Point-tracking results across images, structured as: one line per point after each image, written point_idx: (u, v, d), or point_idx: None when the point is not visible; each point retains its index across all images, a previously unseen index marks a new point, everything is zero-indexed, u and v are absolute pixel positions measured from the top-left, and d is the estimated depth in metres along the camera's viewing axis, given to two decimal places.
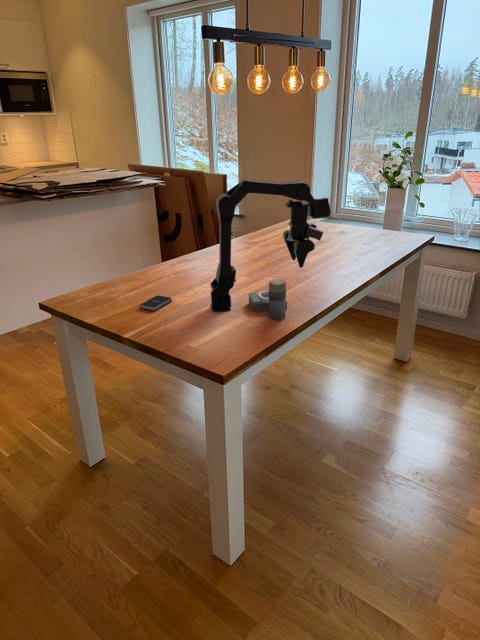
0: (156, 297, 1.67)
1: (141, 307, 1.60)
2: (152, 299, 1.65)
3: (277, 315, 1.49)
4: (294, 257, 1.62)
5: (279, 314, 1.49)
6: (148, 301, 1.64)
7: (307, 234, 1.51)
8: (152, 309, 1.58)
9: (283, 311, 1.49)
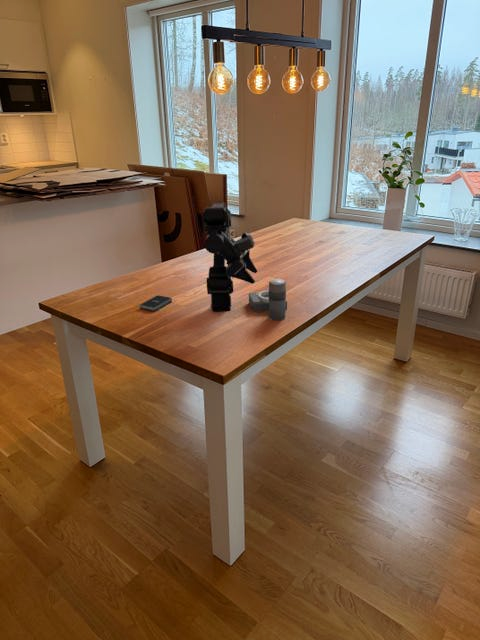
0: (156, 297, 1.67)
1: (141, 307, 1.60)
2: (152, 299, 1.65)
3: (277, 315, 1.49)
4: (254, 270, 1.52)
5: (279, 314, 1.49)
6: (148, 301, 1.63)
7: (236, 252, 1.42)
8: (152, 309, 1.58)
9: (283, 311, 1.49)
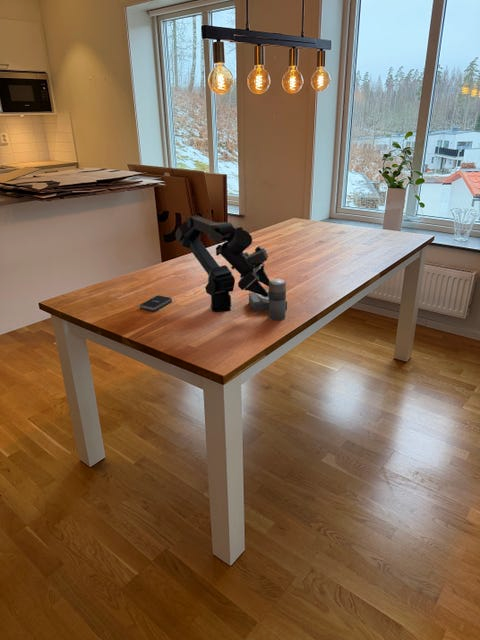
0: (156, 297, 1.67)
1: (141, 307, 1.60)
2: (152, 299, 1.65)
3: (277, 315, 1.49)
4: None
5: (279, 314, 1.49)
6: (148, 301, 1.64)
7: (249, 265, 1.43)
8: (152, 309, 1.58)
9: (283, 311, 1.49)
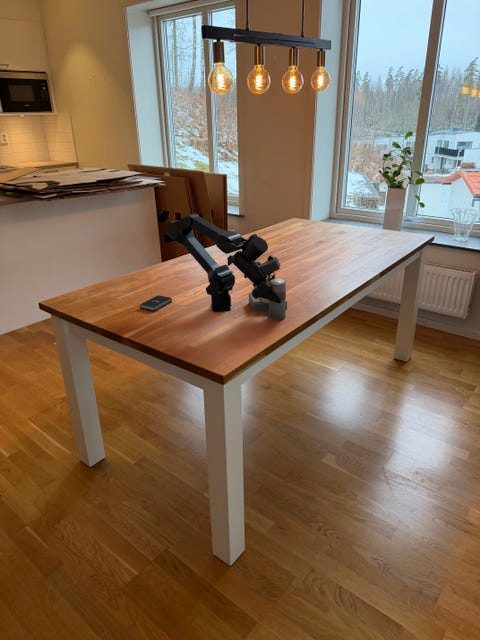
0: (156, 297, 1.67)
1: (141, 307, 1.60)
2: (152, 299, 1.65)
3: (277, 315, 1.49)
4: None
5: (279, 314, 1.49)
6: (148, 301, 1.63)
7: (262, 274, 1.44)
8: (152, 309, 1.58)
9: (283, 311, 1.49)
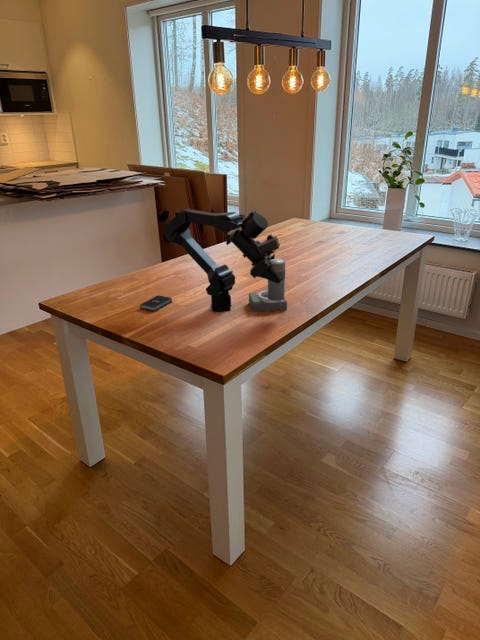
0: (156, 297, 1.67)
1: (141, 307, 1.60)
2: (152, 299, 1.65)
3: (276, 295, 1.47)
4: None
5: (278, 294, 1.47)
6: (148, 301, 1.63)
7: (261, 253, 1.42)
8: (152, 309, 1.58)
9: (282, 291, 1.47)
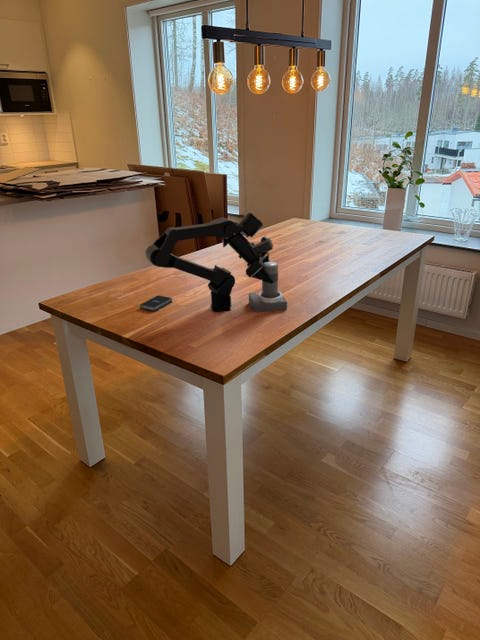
0: (157, 297, 1.67)
1: (141, 307, 1.60)
2: (152, 299, 1.65)
3: (270, 296, 1.56)
4: None
5: (272, 295, 1.56)
6: (148, 301, 1.63)
7: (255, 254, 1.51)
8: (152, 309, 1.58)
9: (276, 292, 1.57)
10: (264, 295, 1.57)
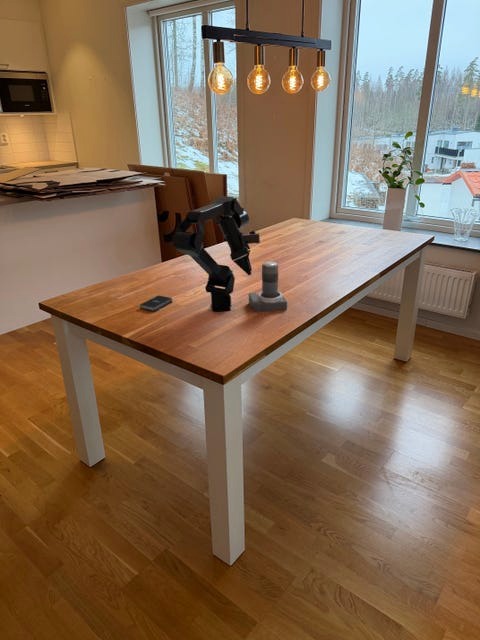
0: (157, 297, 1.67)
1: (141, 307, 1.60)
2: (153, 299, 1.65)
3: (270, 296, 1.56)
4: (249, 268, 1.62)
5: (272, 295, 1.56)
6: (148, 301, 1.63)
7: (243, 242, 1.53)
8: (152, 309, 1.58)
9: (276, 292, 1.57)
10: (264, 295, 1.57)
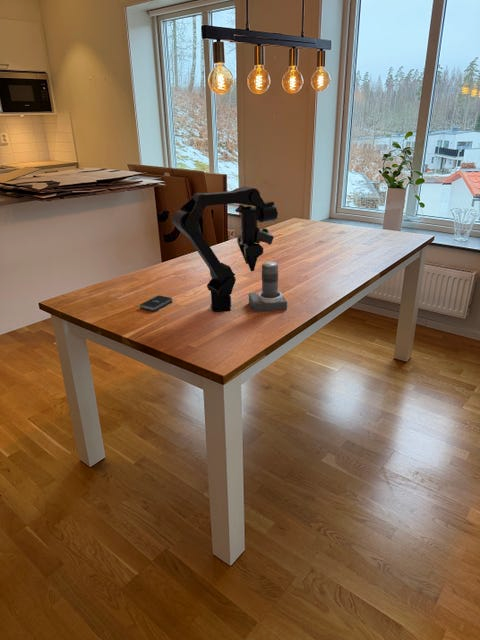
0: (157, 297, 1.67)
1: (141, 307, 1.60)
2: (153, 299, 1.65)
3: (270, 296, 1.56)
4: None
5: (272, 295, 1.56)
6: (148, 301, 1.63)
7: (257, 238, 1.54)
8: (152, 309, 1.58)
9: (276, 292, 1.57)
10: (264, 295, 1.57)
